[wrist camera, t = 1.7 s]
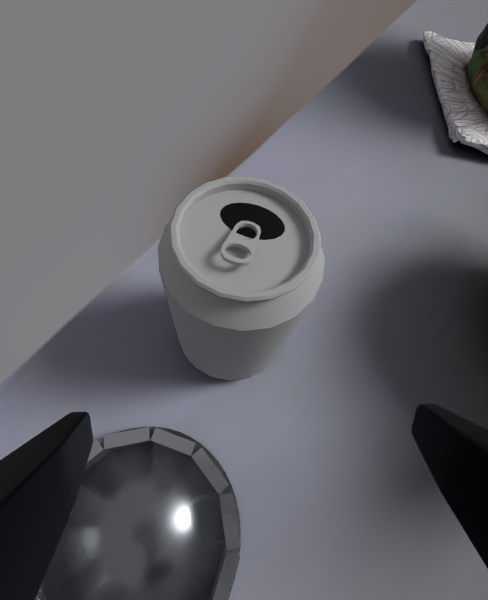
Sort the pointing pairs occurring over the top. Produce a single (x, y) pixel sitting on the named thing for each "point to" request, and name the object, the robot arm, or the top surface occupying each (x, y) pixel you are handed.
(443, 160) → the top surface
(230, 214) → the can
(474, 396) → the top surface
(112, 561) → the rosette plate
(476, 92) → the cookie jar
